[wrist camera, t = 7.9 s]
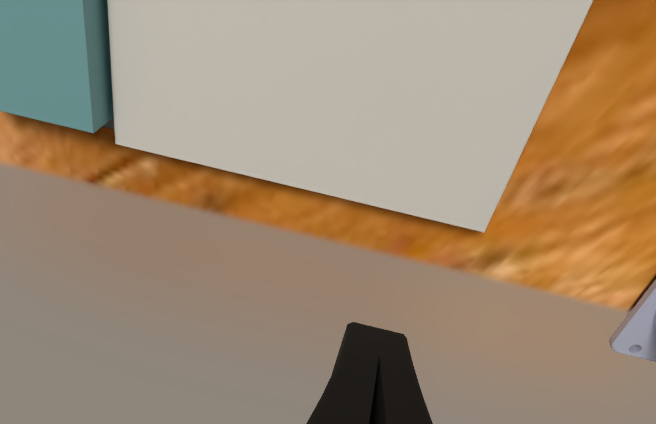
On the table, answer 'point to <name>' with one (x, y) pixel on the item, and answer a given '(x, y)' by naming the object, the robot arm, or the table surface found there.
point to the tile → (56, 62)
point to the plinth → (344, 92)
